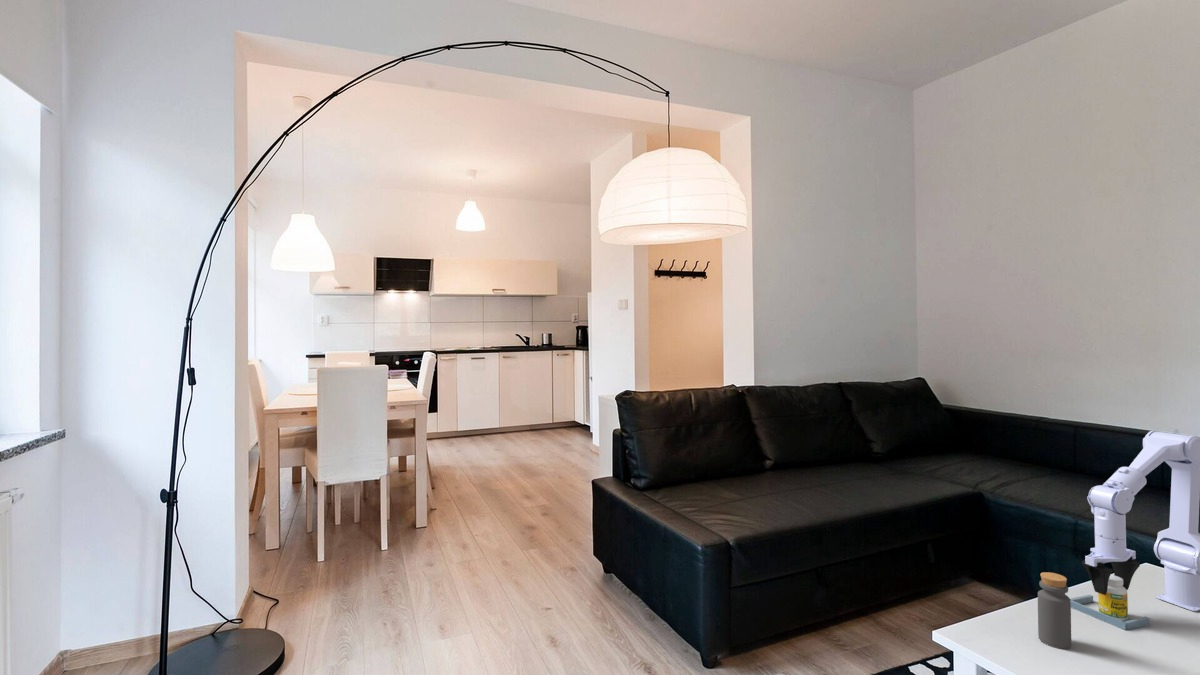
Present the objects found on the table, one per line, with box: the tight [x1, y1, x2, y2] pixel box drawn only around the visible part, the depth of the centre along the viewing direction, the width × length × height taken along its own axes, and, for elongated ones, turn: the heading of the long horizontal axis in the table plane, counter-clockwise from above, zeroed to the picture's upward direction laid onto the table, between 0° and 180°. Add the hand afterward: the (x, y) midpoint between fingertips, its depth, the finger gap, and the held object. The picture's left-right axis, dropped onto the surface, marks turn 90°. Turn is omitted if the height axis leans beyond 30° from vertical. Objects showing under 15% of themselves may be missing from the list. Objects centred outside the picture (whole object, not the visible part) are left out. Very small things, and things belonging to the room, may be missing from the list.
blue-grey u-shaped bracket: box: [1070, 594, 1151, 631], centre depth 138 cm, size 8×13×2 cm, turn 16°
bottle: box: [1037, 571, 1072, 650], centre depth 127 cm, size 6×6×15 cm
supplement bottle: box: [1097, 574, 1129, 622], centre depth 138 cm, size 5×5×10 cm
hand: (1111, 590), depth 137 cm, fingers open, 7 cm apart
